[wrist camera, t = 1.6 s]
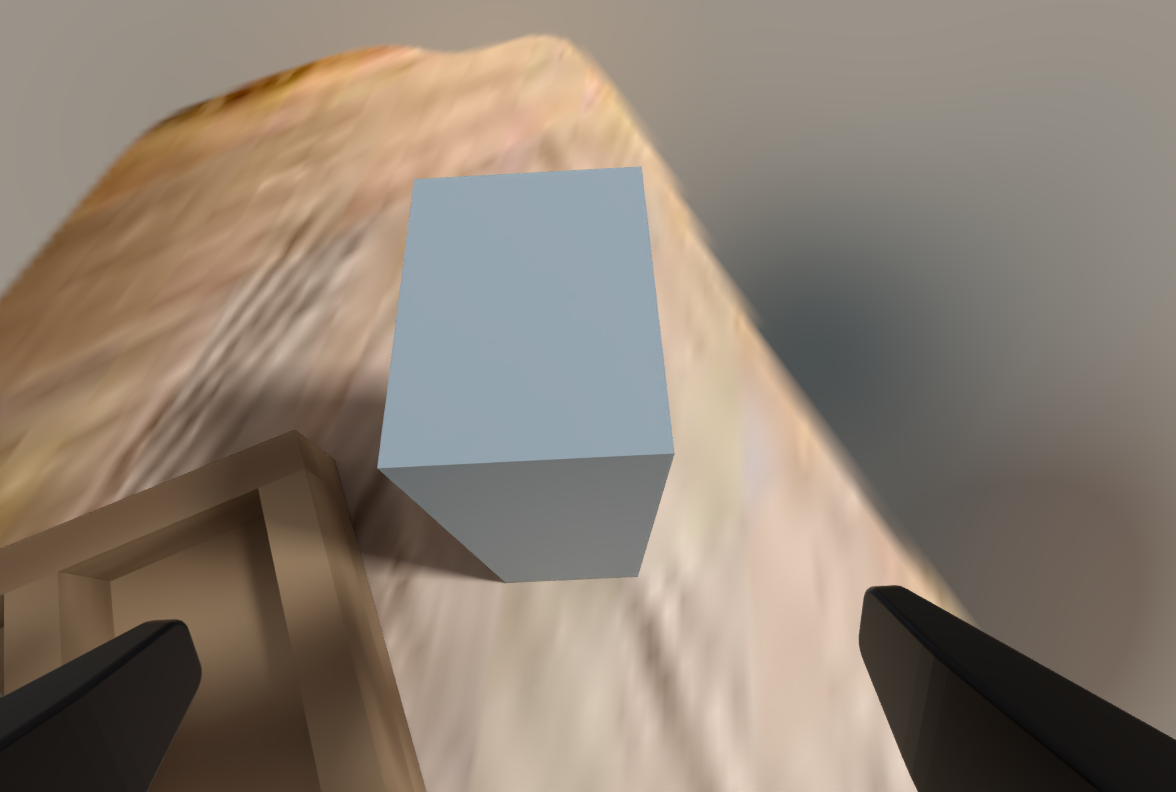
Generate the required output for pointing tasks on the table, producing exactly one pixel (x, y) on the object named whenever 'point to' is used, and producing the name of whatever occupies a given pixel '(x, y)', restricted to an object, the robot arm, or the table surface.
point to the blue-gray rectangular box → (531, 371)
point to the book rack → (229, 621)
